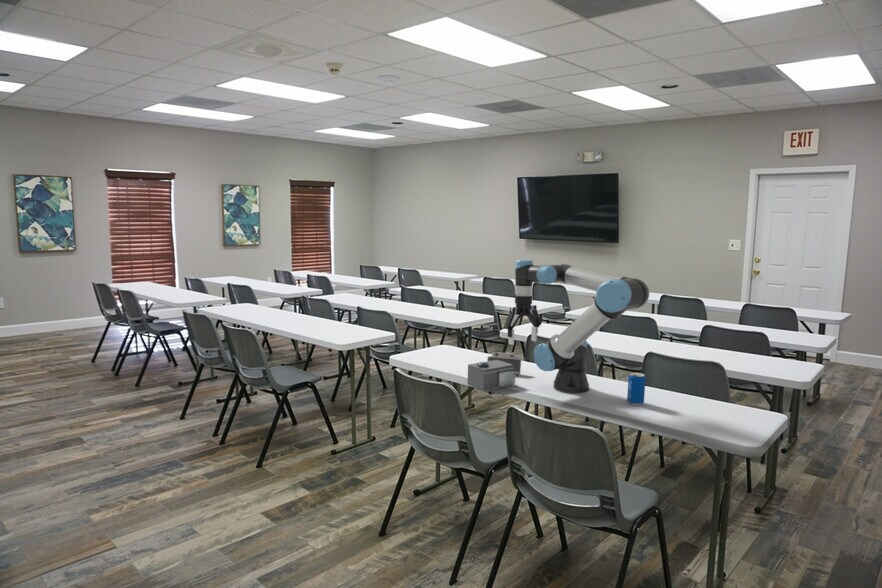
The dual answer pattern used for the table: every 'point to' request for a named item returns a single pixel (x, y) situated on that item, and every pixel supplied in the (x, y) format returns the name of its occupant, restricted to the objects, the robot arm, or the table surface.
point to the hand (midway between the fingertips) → (522, 342)
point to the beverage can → (636, 388)
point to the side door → (506, 378)
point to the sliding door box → (487, 374)
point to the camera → (507, 360)
